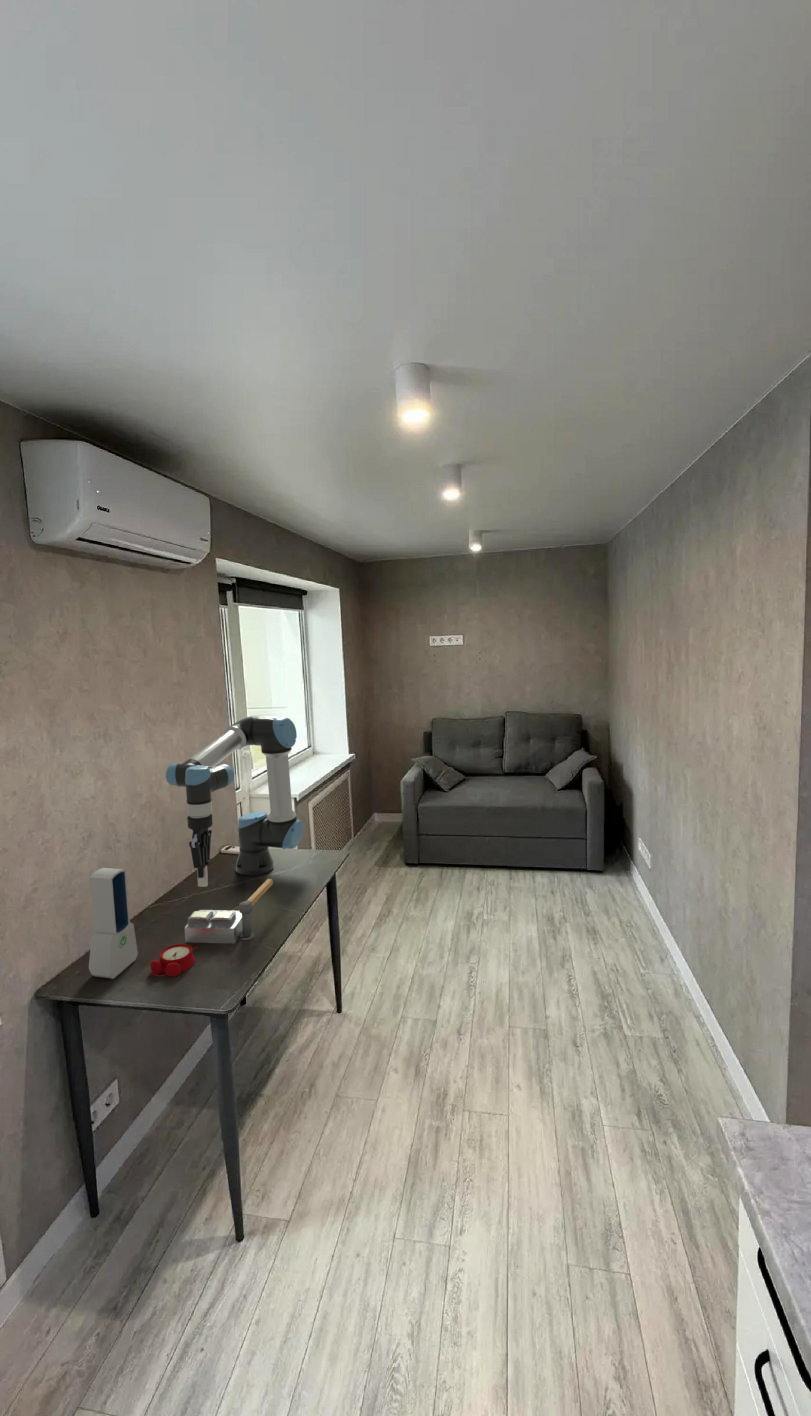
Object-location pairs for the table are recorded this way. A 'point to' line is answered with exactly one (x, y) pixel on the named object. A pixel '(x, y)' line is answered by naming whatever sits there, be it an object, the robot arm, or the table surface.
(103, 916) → the electronic device
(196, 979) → the table surface
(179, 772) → the robot arm
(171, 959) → the alarm clock
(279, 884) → the table surface
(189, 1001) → the table surface
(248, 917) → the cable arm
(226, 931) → the grey boxy piece
